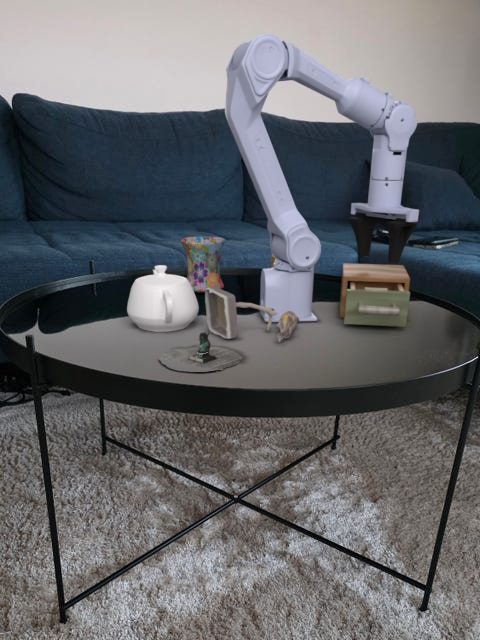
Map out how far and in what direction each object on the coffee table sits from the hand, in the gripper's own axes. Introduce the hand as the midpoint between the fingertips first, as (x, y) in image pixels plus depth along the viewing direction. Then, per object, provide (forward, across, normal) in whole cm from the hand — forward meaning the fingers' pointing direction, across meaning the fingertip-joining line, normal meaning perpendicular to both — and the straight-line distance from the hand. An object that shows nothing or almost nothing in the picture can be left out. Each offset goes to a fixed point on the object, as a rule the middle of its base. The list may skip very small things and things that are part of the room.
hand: (378, 259), depth 109 cm
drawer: (+9, -7, +7) cm, 13 cm away
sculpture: (+10, -6, +42) cm, 44 cm away
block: (+8, -6, +6) cm, 12 cm away
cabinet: (+10, 0, 0) cm, 10 cm away
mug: (+10, +33, +18) cm, 39 cm away
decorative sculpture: (+10, -1, +28) cm, 30 cm away
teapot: (+10, +14, +38) cm, 42 cm away
